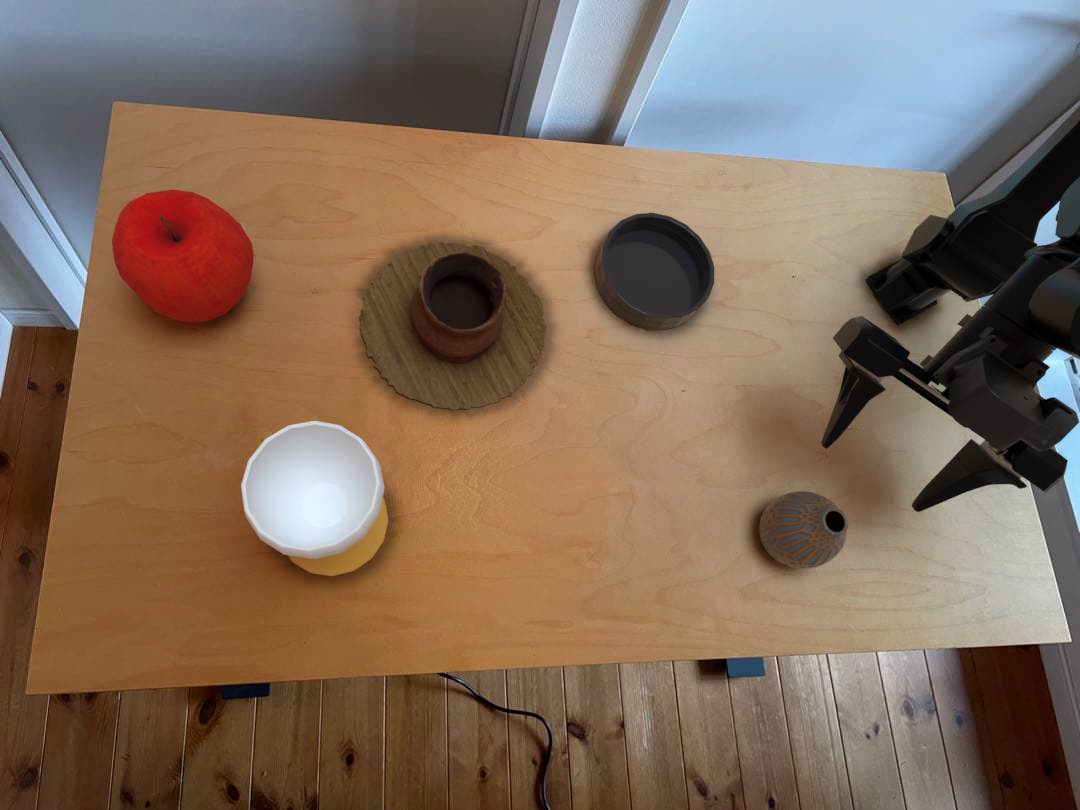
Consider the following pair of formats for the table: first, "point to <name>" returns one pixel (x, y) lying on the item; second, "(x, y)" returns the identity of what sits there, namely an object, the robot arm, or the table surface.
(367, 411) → the table surface
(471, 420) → the table surface
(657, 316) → the pan
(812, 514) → the vase
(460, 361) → the ceramic pot
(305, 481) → the cup
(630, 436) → the table surface
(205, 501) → the table surface
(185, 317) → the apple
